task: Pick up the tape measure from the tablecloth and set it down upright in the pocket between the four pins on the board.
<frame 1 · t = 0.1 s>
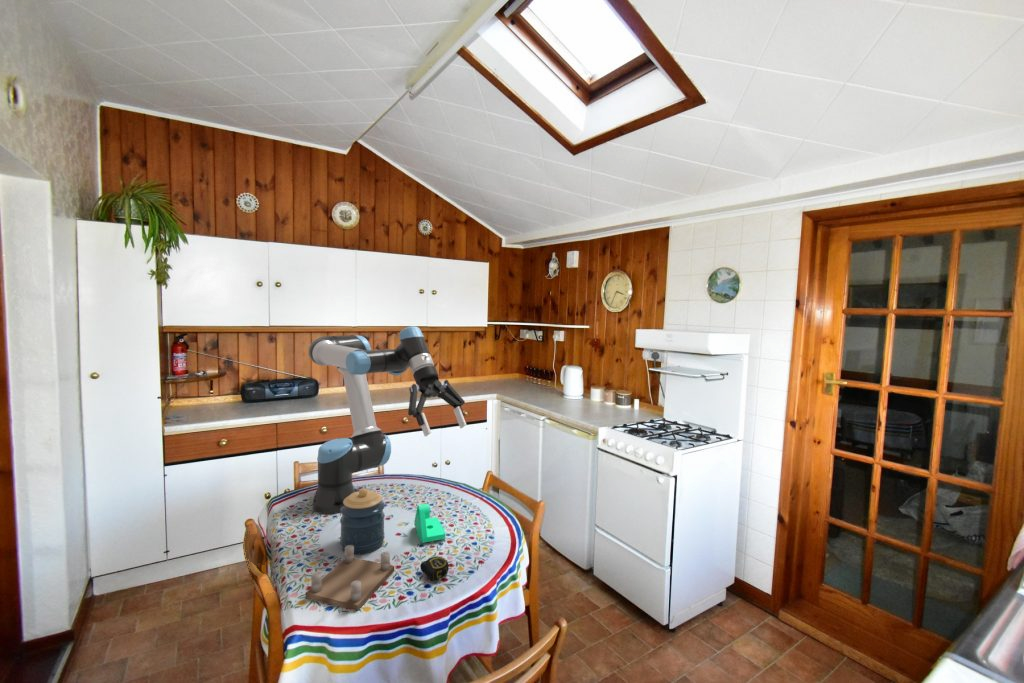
hand: (446, 430, 136), 36 cm above the table, fingers open, 13 cm apart
camera mount: (429, 535, 144), on the table
tape measure: (434, 577, 121), on the table
canister: (362, 544, 136), on the table
pin board: (352, 584, 117), on the table
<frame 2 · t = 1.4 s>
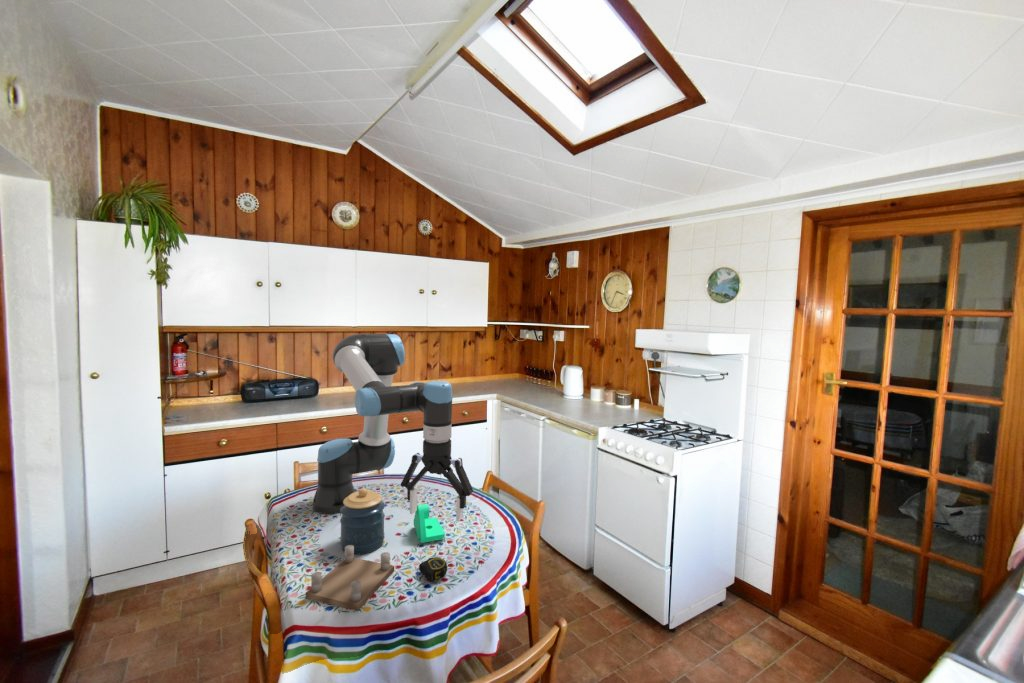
hand: (436, 515, 120), 17 cm above the table, fingers open, 13 cm apart
nothing on the table moved.
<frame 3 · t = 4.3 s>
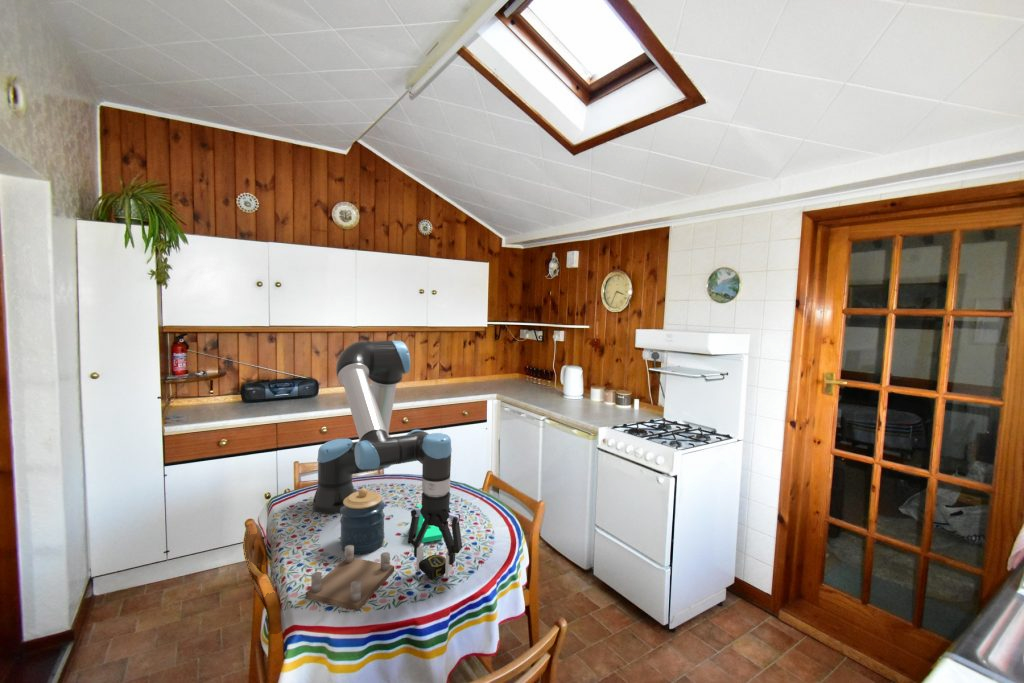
hand: (434, 571, 122), 1 cm above the table, fingers closed on tape measure, 8 cm apart
tape measure: (432, 575, 120), point 1 cm above the table, touching gripper
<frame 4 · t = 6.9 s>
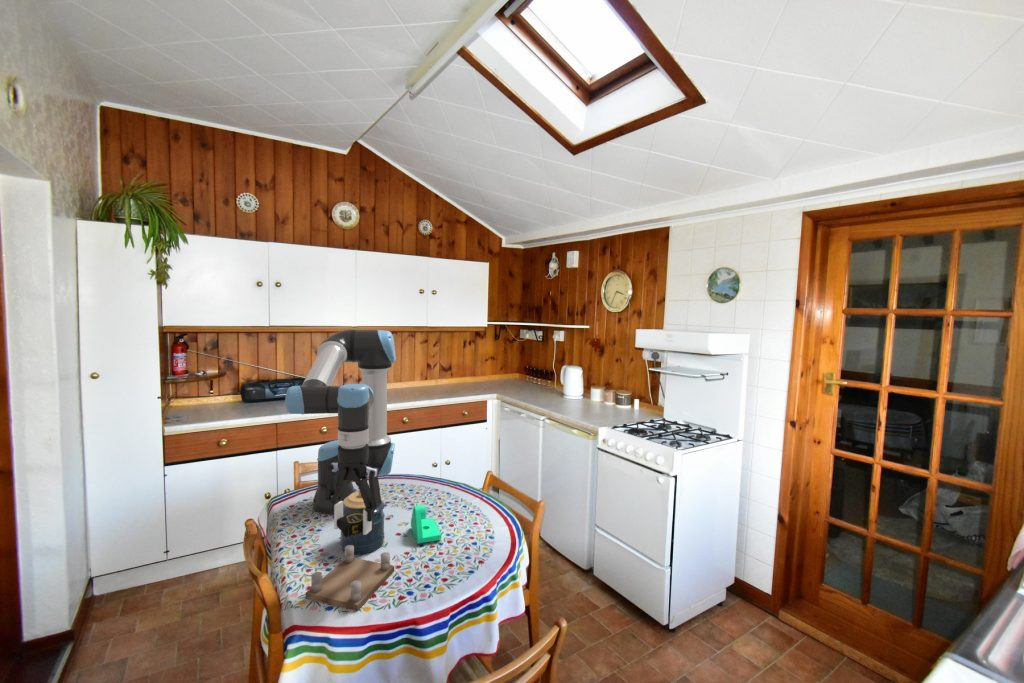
hand: (352, 529, 116), 15 cm above the table, fingers closed on tape measure, 8 cm apart
tape measure: (350, 533, 114), point 15 cm above the table, touching gripper
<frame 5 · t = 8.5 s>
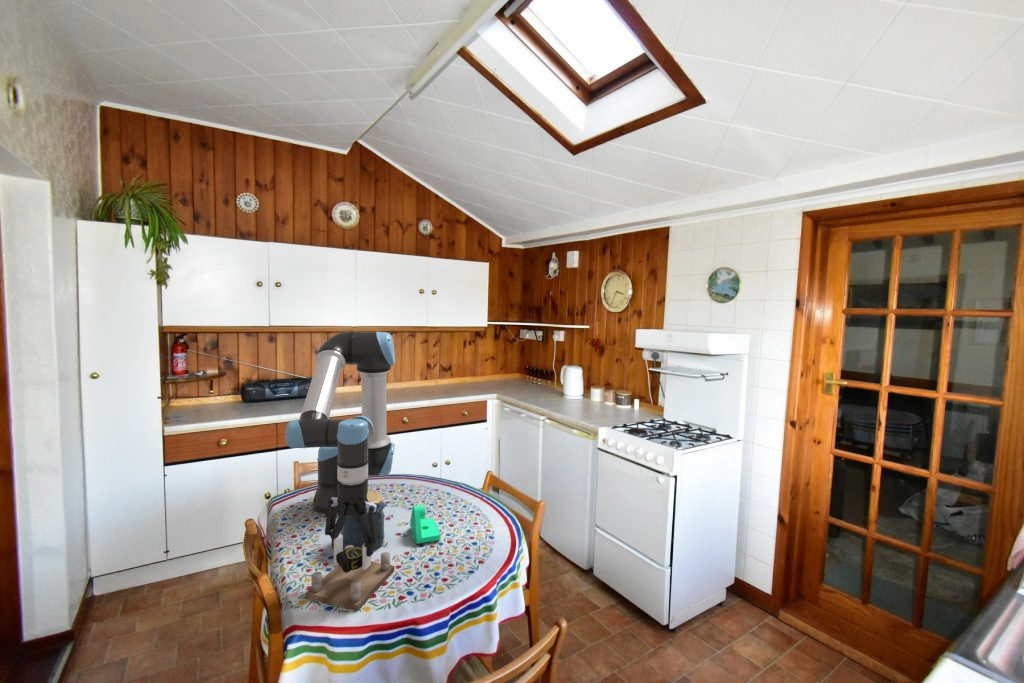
hand: (352, 563, 116), 6 cm above the table, fingers closed on tape measure, 8 cm apart
tape measure: (350, 568, 115), point 5 cm above the table, touching gripper
when the fingers open (3 cm above the table, at t = 9.6 s): tape measure stays where it is, resting on pin board.
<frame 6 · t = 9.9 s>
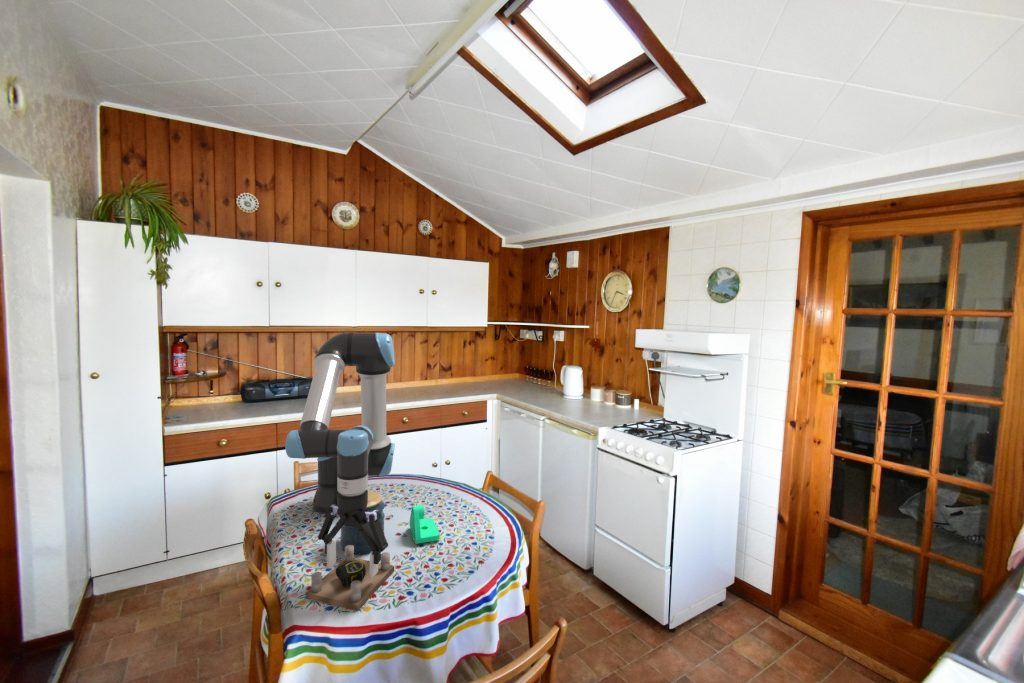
hand: (352, 569, 116), 4 cm above the table, fingers open, 12 cm apart
tape measure: (349, 582, 115), point 1 cm above the table, touching pin board
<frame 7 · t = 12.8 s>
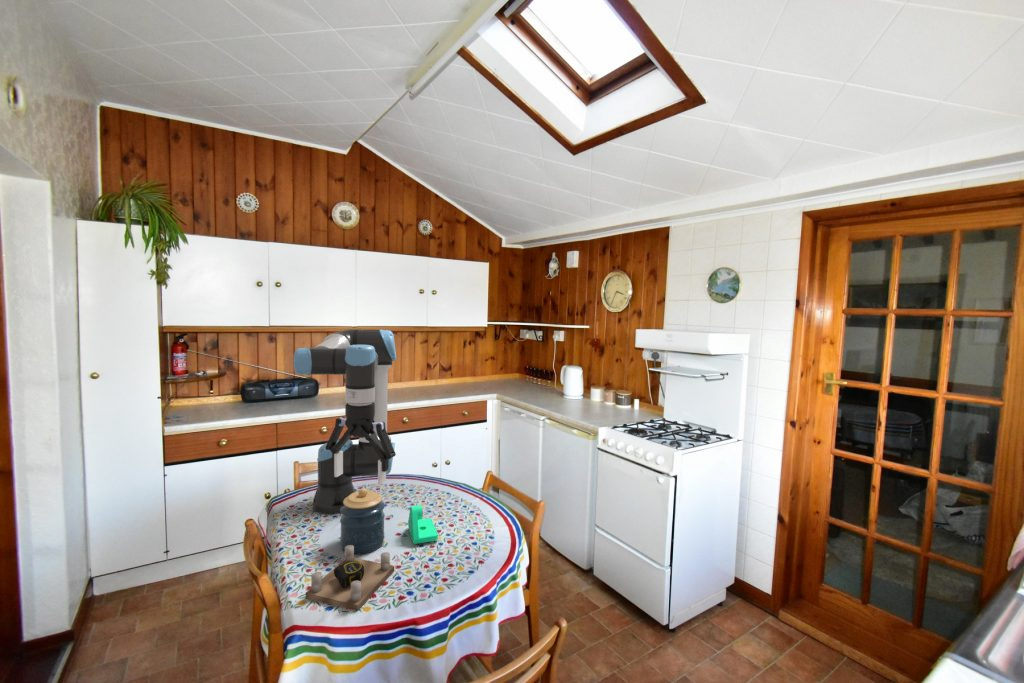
hand: (359, 478, 120), 26 cm above the table, fingers open, 13 cm apart
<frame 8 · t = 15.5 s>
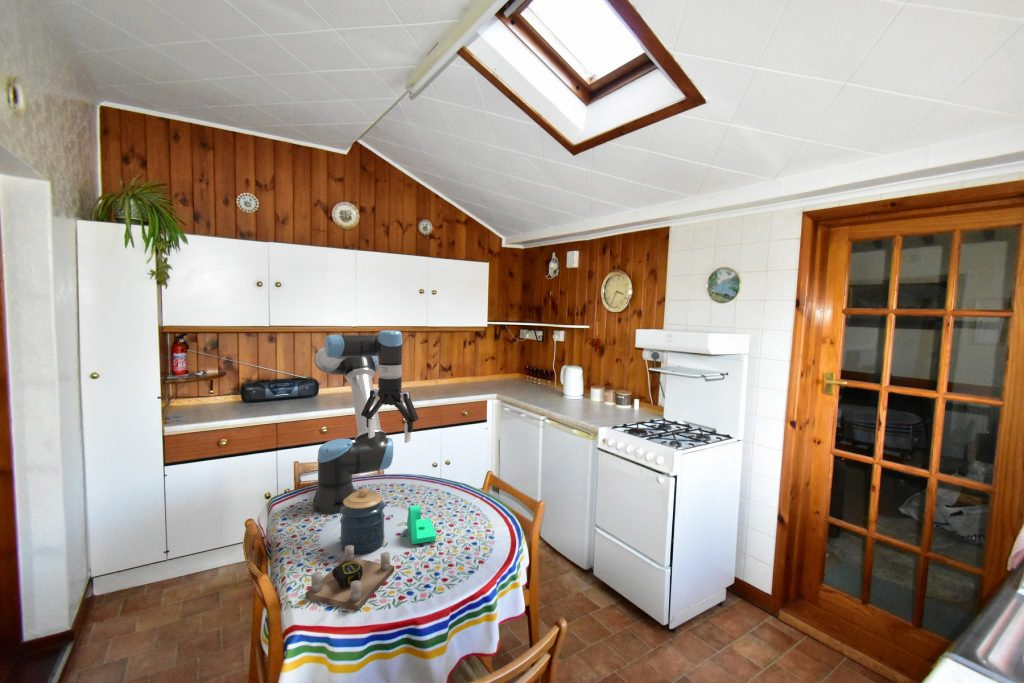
hand: (389, 439, 149), 29 cm above the table, fingers open, 13 cm apart
at the end: tape measure 2.0 cm off-centre on the pin board, point 1.3 cm above the pin board's base; tape measure tilted 2°; the gripper is holding nothing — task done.
